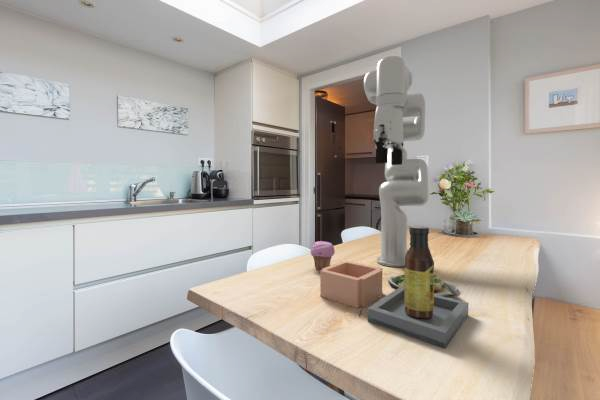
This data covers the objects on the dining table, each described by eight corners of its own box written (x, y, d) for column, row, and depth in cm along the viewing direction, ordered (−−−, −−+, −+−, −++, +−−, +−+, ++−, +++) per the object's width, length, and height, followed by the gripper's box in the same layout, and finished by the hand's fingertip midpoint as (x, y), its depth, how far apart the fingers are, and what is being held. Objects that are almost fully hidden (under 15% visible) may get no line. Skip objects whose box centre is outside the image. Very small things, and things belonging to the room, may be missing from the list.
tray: (400, 297, 77) (401, 286, 77) (468, 315, 66) (468, 302, 66) (367, 321, 64) (367, 308, 64) (445, 348, 53) (445, 333, 53)
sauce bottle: (436, 321, 61) (438, 229, 60) (406, 319, 63) (407, 229, 61) (429, 308, 68) (431, 225, 67) (401, 306, 69) (402, 224, 68)
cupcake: (311, 264, 109) (311, 238, 108) (334, 265, 108) (334, 239, 107) (309, 271, 100) (309, 243, 99) (334, 272, 99) (334, 244, 98)
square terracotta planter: (344, 282, 89) (344, 260, 88) (384, 293, 80) (385, 268, 79) (318, 295, 79) (318, 270, 78) (360, 309, 70) (360, 281, 70)
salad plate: (479, 296, 78) (479, 280, 78) (430, 308, 71) (431, 289, 71) (423, 275, 96) (423, 262, 96) (380, 283, 89) (380, 268, 89)
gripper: (390, 111, 91) (390, 165, 92) (363, 100, 78) (362, 163, 79) (414, 107, 86) (413, 164, 87) (389, 94, 73) (388, 161, 74)
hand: (389, 163), depth 83 cm, fingers open, 9 cm apart
